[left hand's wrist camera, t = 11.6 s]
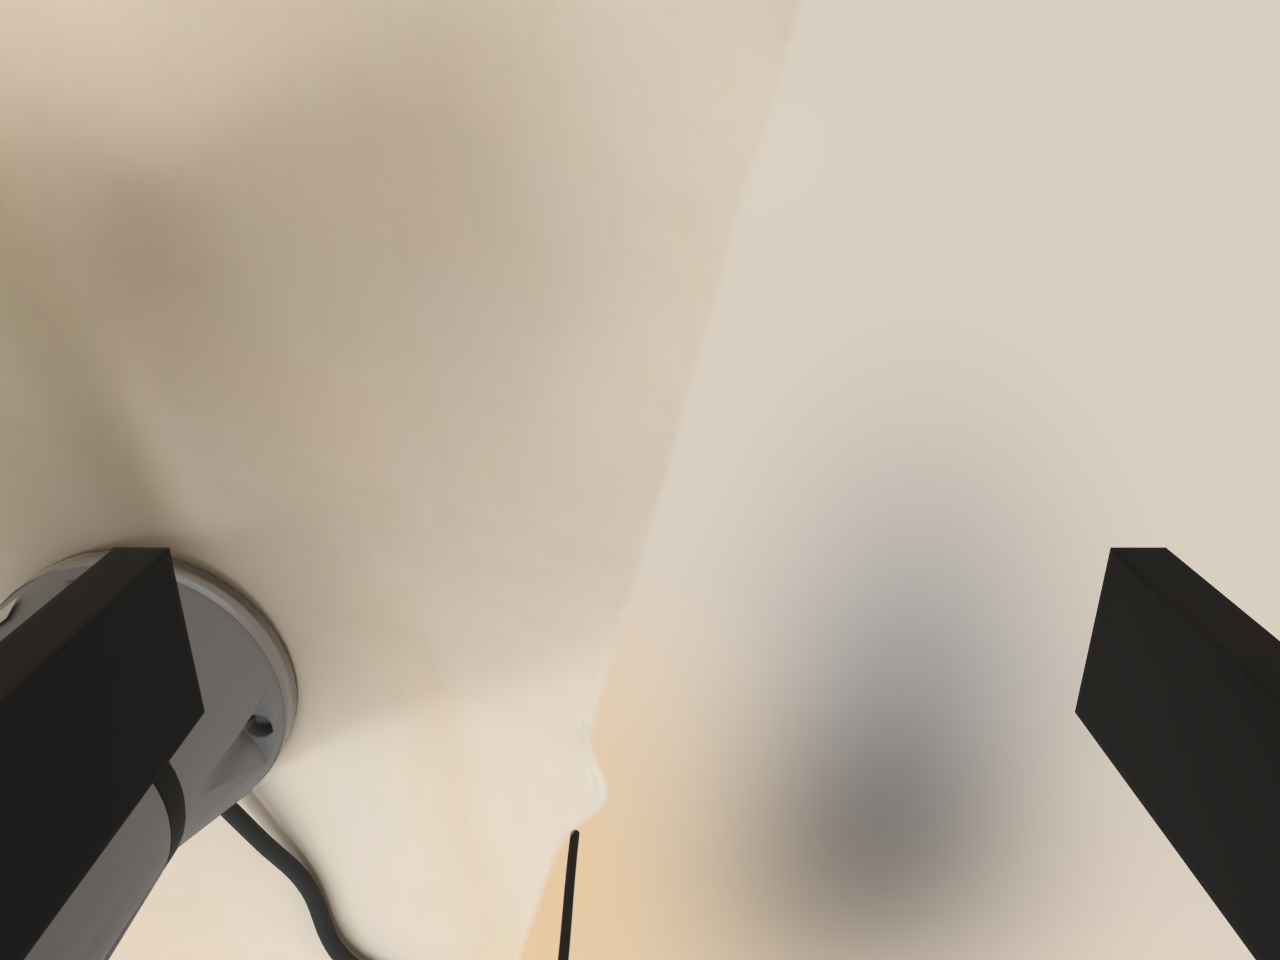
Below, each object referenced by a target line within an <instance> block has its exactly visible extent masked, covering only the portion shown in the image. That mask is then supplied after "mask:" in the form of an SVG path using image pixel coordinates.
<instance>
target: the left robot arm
mask: <svg viewBox="0 0 1280 960" xmlns="http://www.w3.org/2000/svg"><path fill="white" fill-rule="evenodd" d="M296 705H297V692H296V683H295V677H294V673H293V670H292V666H291V663H290V660H289V658H288V655H287V653H286V651H285V649H284V647H283V645H282V643H281V641H280V639H279V638H278V636H277V635H276V633H275V632H274V630H273V629H272V627H271V626H270V625H269V623H268V622H267V621H266V619H265V618H264V617H263V616H262V615H261V614H260V613H259V612H258V610H257V609H256V608H255V607H254V606H253V605H252V604H251V603H249V602H248V601H247V600H246V599H245V598H244V597H243V596H242V595H240V594H239V593H238V592H236V591H235V590H234V589H232V588H231V587H230V586H228V585H227V584H225V583H224V582H222V581H221V580H219V579H217V578H216V577H214V576H212V575H210V574H208V573H206V572H205V571H203V570H201V569H198V568H196V567H194V566H192V565H189V564H187V563H184V562H181V561H178V560H175V559H172V558H171V554H170V549H169V548H113V549H112V550H108V551H97V552H91V553H85V554H81V555H77V556H74V557H70V558H67V559H65V560H62V561H60V562H57V563H55V564H53V565H51V566H50V567H48V568H46V569H44V570H43V571H41V572H40V573H39V574H37V575H36V576H34V577H33V578H32V579H30V580H29V581H28V582H26V583H25V584H24V585H22V586H21V587H20V588H18V589H17V590H16V591H14V592H13V593H12V594H11V595H10V596H9V597H8V598H7V599H6V600H5V601H4V602H3V603H2V604H1V605H0V960H109V958H110V957H111V955H112V953H113V952H114V950H115V948H116V947H117V945H118V944H119V942H120V940H121V939H122V937H123V935H124V934H125V932H126V931H127V929H128V927H129V926H130V924H131V922H132V921H133V919H134V918H135V916H136V914H137V913H138V911H139V909H140V908H141V906H142V905H143V903H144V901H145V900H146V898H147V896H148V895H149V893H150V892H151V890H152V888H153V887H154V885H155V883H156V882H157V880H158V879H159V877H160V875H161V874H162V871H163V870H164V868H165V867H166V865H167V864H168V862H169V861H170V859H171V858H172V856H173V855H174V853H175V851H176V850H177V848H178V847H179V846H181V845H182V844H183V843H184V842H186V841H187V840H188V839H190V838H191V837H192V836H194V835H195V834H196V833H197V832H199V831H200V830H201V829H203V828H204V827H205V826H206V825H208V824H209V823H210V822H212V821H213V820H214V819H215V818H217V817H218V816H219V815H221V816H222V817H223V818H224V819H225V820H226V821H227V822H228V823H229V824H230V825H231V826H232V827H233V828H234V829H235V830H236V831H238V832H239V833H240V834H241V835H242V836H243V837H244V838H245V839H246V840H247V841H248V842H249V843H250V844H251V845H252V846H253V847H254V848H255V849H256V850H257V851H258V852H259V853H261V854H262V855H263V856H264V857H265V858H266V859H267V860H269V861H270V862H271V863H272V864H273V865H275V866H276V867H277V868H278V869H279V870H281V871H282V872H283V873H284V874H285V875H286V876H287V877H288V878H289V879H290V880H291V881H292V882H293V884H294V885H295V886H296V887H297V889H298V890H299V892H300V893H301V894H302V896H303V898H304V900H305V902H306V904H307V906H308V909H309V911H310V914H311V917H312V920H313V922H314V925H315V928H316V931H317V933H318V936H319V938H320V940H321V942H322V944H323V946H324V948H325V950H326V951H327V953H328V954H329V956H330V957H331V958H332V959H333V960H359V959H358V958H356V957H355V956H354V955H353V954H352V953H351V952H350V951H349V950H348V949H347V948H346V947H345V946H344V945H343V943H342V942H341V940H340V939H339V937H338V936H337V934H336V932H335V929H334V927H333V924H332V921H331V919H330V916H329V913H328V910H327V907H326V904H325V902H324V899H323V897H322V895H321V892H320V890H319V889H318V887H317V885H316V883H315V881H314V880H313V878H312V877H311V876H310V874H309V873H308V871H307V870H306V869H305V868H304V867H303V866H302V864H301V863H300V862H299V861H298V860H297V859H296V858H295V857H293V856H292V855H291V854H290V853H289V852H288V851H287V850H285V849H284V848H283V847H282V846H281V845H280V844H278V843H277V842H276V841H275V840H274V839H273V838H272V837H271V836H270V835H269V834H267V833H266V832H265V831H264V830H263V829H262V828H261V827H260V826H259V825H258V824H257V823H256V822H255V821H254V820H253V819H252V818H251V817H250V816H249V815H248V814H247V813H246V812H245V811H244V810H243V809H242V808H241V807H240V806H239V805H238V804H237V803H236V802H237V801H239V800H240V799H241V798H243V797H244V796H245V795H246V794H247V793H248V792H250V791H251V790H252V789H253V788H254V787H255V786H256V785H257V784H258V783H259V782H260V781H261V780H262V779H263V778H264V776H265V775H266V774H267V773H268V772H269V770H270V769H271V767H272V765H273V764H274V762H275V761H276V759H277V757H278V755H279V754H280V752H281V750H282V748H283V747H284V745H285V743H286V741H287V739H288V737H289V735H290V733H291V730H292V727H293V723H294V719H295V714H296ZM1075 713H1076V714H1077V715H1078V717H1079V718H1080V719H1081V721H1082V722H1083V724H1084V725H1085V726H1086V728H1087V729H1088V730H1089V732H1090V733H1091V734H1092V736H1093V737H1094V739H1095V740H1096V741H1097V743H1098V744H1099V746H1100V747H1101V748H1102V750H1103V751H1104V752H1105V754H1106V755H1107V756H1108V758H1109V759H1110V761H1111V762H1112V763H1113V765H1114V766H1115V767H1116V769H1117V770H1118V771H1119V773H1120V774H1121V776H1122V777H1123V778H1124V780H1125V781H1126V783H1127V784H1128V785H1129V787H1130V788H1131V789H1132V791H1133V792H1134V793H1135V795H1136V796H1137V798H1138V799H1139V800H1140V802H1141V803H1142V804H1143V806H1144V807H1145V809H1146V810H1147V811H1148V813H1149V814H1150V815H1151V817H1152V818H1153V820H1154V821H1155V822H1156V824H1157V825H1158V826H1159V828H1160V829H1161V830H1162V832H1163V833H1164V834H1165V836H1166V837H1167V839H1168V840H1169V841H1170V843H1171V844H1172V845H1173V847H1174V848H1175V850H1176V851H1177V852H1178V854H1179V855H1180V856H1181V858H1182V859H1183V861H1184V862H1185V863H1186V865H1187V866H1188V867H1189V869H1190V870H1191V872H1192V873H1193V874H1194V876H1195V877H1196V878H1197V880H1198V881H1199V882H1200V884H1201V885H1202V887H1203V888H1204V889H1205V891H1206V892H1207V893H1208V895H1209V896H1210V898H1211V899H1212V900H1213V902H1214V903H1215V904H1216V906H1217V907H1218V908H1219V910H1220V911H1221V913H1222V914H1223V915H1224V917H1225V918H1226V919H1227V921H1228V922H1229V923H1230V925H1231V926H1232V928H1233V929H1234V930H1235V932H1236V933H1237V934H1238V936H1239V937H1240V938H1241V940H1242V941H1243V943H1244V944H1245V945H1246V947H1247V948H1248V950H1249V951H1250V952H1251V954H1252V955H1253V956H1254V958H1255V959H1256V960H1280V641H1279V640H1278V639H1276V638H1275V637H1274V636H1273V635H1271V634H1270V633H1269V632H1268V631H1267V630H1265V629H1264V628H1263V627H1262V626H1260V625H1259V624H1258V623H1257V622H1256V621H1254V620H1253V619H1252V618H1251V617H1250V616H1248V615H1247V614H1246V613H1245V612H1243V611H1242V610H1241V609H1240V608H1239V607H1237V606H1236V605H1235V604H1234V603H1232V602H1231V601H1230V600H1229V599H1228V598H1226V597H1225V596H1224V595H1223V594H1222V593H1220V592H1219V591H1218V590H1217V589H1215V588H1214V587H1213V586H1212V585H1211V584H1209V583H1208V582H1207V581H1206V580H1204V579H1203V578H1202V577H1201V576H1200V575H1198V574H1197V573H1196V572H1195V571H1193V570H1192V569H1191V568H1190V567H1189V566H1187V565H1186V564H1185V563H1184V562H1183V561H1181V560H1180V559H1179V558H1178V557H1176V556H1175V555H1174V554H1173V553H1172V552H1170V551H1169V550H1168V549H1167V548H1111V549H1110V554H1109V558H1108V563H1107V567H1106V572H1105V577H1104V581H1103V586H1102V590H1101V595H1100V600H1099V604H1098V609H1097V613H1096V618H1095V623H1094V627H1093V632H1092V637H1091V641H1090V645H1089V650H1088V655H1087V659H1086V664H1085V669H1084V673H1083V678H1082V682H1081V687H1080V691H1079V696H1078V701H1077V705H1076V710H1075ZM579 834H580V833H579V831H578V830H572V831H571V833H570V841H569V849H568V858H567V868H566V878H565V888H564V899H563V911H562V922H561V933H560V944H559V953H558V960H569V950H570V938H571V925H572V912H573V899H574V886H575V874H576V863H577V853H578V843H579Z"/></svg>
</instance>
